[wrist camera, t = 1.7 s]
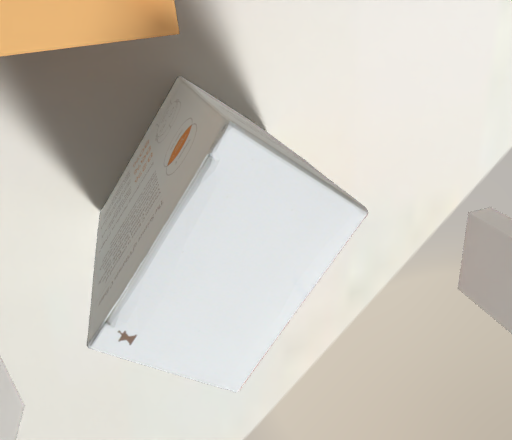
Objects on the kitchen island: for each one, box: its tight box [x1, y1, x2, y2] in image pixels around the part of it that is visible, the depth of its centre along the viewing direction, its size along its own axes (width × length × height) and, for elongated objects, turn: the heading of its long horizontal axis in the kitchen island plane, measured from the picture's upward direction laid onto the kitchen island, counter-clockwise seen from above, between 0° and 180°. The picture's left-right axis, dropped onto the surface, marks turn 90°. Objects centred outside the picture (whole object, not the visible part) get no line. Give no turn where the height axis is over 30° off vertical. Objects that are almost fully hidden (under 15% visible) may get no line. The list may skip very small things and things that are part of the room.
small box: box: [87, 76, 368, 392], centre depth 18 cm, size 8×6×10 cm
